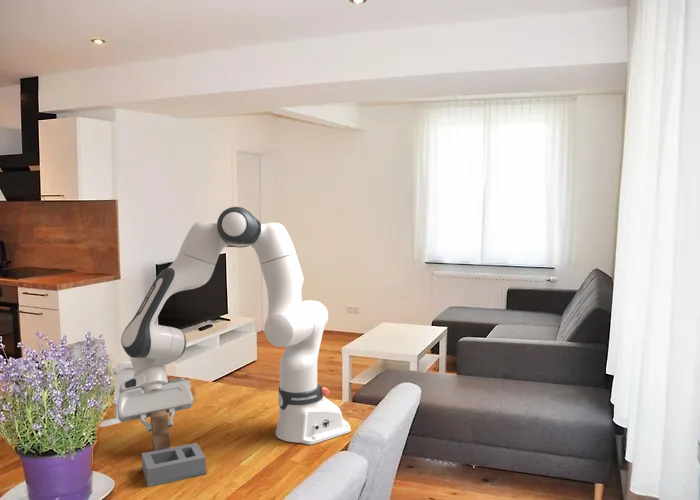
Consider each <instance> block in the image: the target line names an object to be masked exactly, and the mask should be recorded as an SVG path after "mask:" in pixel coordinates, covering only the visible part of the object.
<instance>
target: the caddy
mask: <svg viewBox="0 0 700 500" xmlns="http://www.w3.org/2000/svg"><path fill="white" fill-rule="evenodd" d="M206 461H207V457H206V455H205V454H204V452H203V451H202V448H201V447H200V445H199V443H198V442H194V443H187V444H183V445H178V446H177V445H176V446H171V447H170V448H167V449H161V450H156V451H154V450H152V451H147V452H142V453H141V468H142V469H141V470H142V473H143V475H144V479H145V481H146V485H147V487H148V488H149V487H154V486H158V485H164V484H167V483H172V482H173V483H174V482H177V481H181V480H187V479H191V478H195V477H199V476H205V475H207V463H206Z"/></svg>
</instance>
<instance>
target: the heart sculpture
mask: <svg viewBox="0 0 700 500" xmlns="http://www.w3.org/2000/svg"><path fill="white" fill-rule="evenodd" d="M112 371H113V373H114V375H115V377H116V379H117V385H116V393H115V396H114V401H113V403H112V404H114V417H112V418H107V419H103V420H102V421H103V422H101V424H100V425H101V426H100V425H99V426H100V428H104V427H105V428H106V427H108V426H112V425H116V424H120V423H122V422H121V421H119V419H118V398H119V395H120V393H119V389H120V385H121V384H122V383H123V382H125V381H127V380H129V379H131V378H133V377H134V368H133V366H132V362H131V361H128V360H127V361H120V362H118V363H117V364H115V365H112ZM99 426H98V427H99Z"/></svg>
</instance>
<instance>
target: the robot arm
mask: <svg viewBox="0 0 700 500" xmlns="http://www.w3.org/2000/svg"><path fill="white" fill-rule="evenodd" d="M249 246H251V248H253V249H254V251H255V254H256V256H257V258H258V262H259V265H260V269H261V272H262V275H263V278H264V283H265V287H266V290H267V301H268V307H267V308H268V309H267V310H268V311H267V317H266V320H265V322H264V327H263V328H264V335H265V337H266V339H267V341H268V342H269V343H270V344H271V345H273V346H274V347H278V348H284V351H283V353H282V355H281V358H280V361H279V386H278V394H277V395H278V396H277V397H278V399H277V400H278V406H279V412H278V414H279V415H278V419H277V424H276V425H277V426H276V429H275V433H274V434H275V436H276V438H277V439H280V440H282V441H284V442H288V443H301V444H304V445H314V444H317V443H321V442H324V441H326V440H327V441H328V440H330V439H333V438H336V437H339V436H342V435H346V434H349V433H350V432H351V430H352V429H351V425H350V423H349V422H348V421H347V420H345V419H344V418H343V414H342V411H341V409H340V407H339V406H338V405H336V404H335V403H334V402H333V401H331V400H330V399H328V398H327V397H325V396H329V394H330V390H329V389H328V388H327V387H326V386H323V385H320V384H319V383H318V361H319V354H320V348H321V343H322V340H323V339H322V338H323V334H324V331H325V328H326V326H327V324H328V322H329V312H328V308H327V307H326V306H325V305H324V304H323V303H321V302H320V301H318V300H310V299H307V300H303V298H302V289H303V288H302V287H303V284H304V280H305V279H304V278H305V277H304V275H303V270H302V268H301V265H300V262H299V258H298V255H297V251H296V249H295V246H294V243H293V241H292V239H291V237H290V235H289V233H288V231H287V229H286V227H285V226H284V225H283V224H282V223H280V222H274V221H273V222H266V223H261V221H260V220H259V219H257V217H256V216H254V214H252V213H251V212H250V211H249V210H248V209H246V208H244V207H242V206H230V207H228V208H226V209H224V210H223V211H222V212H221V213H220V215H219V216H218V218H217V222H211V221H205V220H203V221H196V222H195V223H194V224H193V225H192V226H191V227H190V229H189V231H188V233H187V234H186V236H185V238H184V240H183V242H182V243H181V246H180V248H179V252H178V253H177V256H176V258H175V260H174V261H173V262H172V263H171V264H170V265H169V266H168V267H167V268H164V269H163V270H161V271H160V272H159V274H158V275H157V277H156V278H155V279H154V281H153V282H152V284H151V286H150V288H149V290H148V292H147V294H146V295H145V297H144V299H143V301H142V302H141V304H140V306H139V308H138V309H137V311H136V313H135V315H134V316H133V318H132V319H131V321H130V322H129V323H128V324H127V326H126V327H125V329H124V330H123V332H122V335H121V339H120V343H121V346H122V348H123V349H122V350H124V352H125V353H126V355H127V356H128V357H130V360H131V361H130V362H132V366H133V368H134V377H133V378H131V379H129V380H127V381H125V382H123V383H122V384H121V385H120V389H119V393H120V395H119V398H118V419H119V421H121V423H126V422H131V421H135V420H140V423H141V424H143V426H144V427H145V429H146V432H147V433H149V432H152V431H153V427H152V423H151V422H148V421H147V418H149V417H150V413H151V412H156V411H161V410H165V411H166V413H167V414H168V415H169V416H170V417H169V418H168V427H169V428H172V427H174V421H173V419H174V417H175V413H176V412H178V411H182V410H183V411H184V410H188V409H191V408H192V406H193V404H194V400H193V396H192V393H191V391H190V389H191V387H192V386H191V382H190V380H189V379H187V378H184V377H179V378H173V379H168V375H167V370H166V365H169V364H172V363H173V362H175V361H177V360H178V359H179V358H180V357H182V356H183V355H184V354H185V351H186V348H187V338H186V336H185V333H184V331H182V330H181V329H179V328H176V327H173V326H168V325H167V326H166V325H160V324H157V323H156V324H155V322H156V320H157V318H158V317H159V315H160V312H161V311H162V309H163V307H164V305H165V303H166V302H167V300H168V299H169V298H170V297H171V296H172V295H174V294H176V293H180V292H183V291H189V290H194V289H197V288H201V287H202V286H204V285H206V283H208V282H209V281H210V279H211V278H212V276H213V273H214V272H215V271H214V270H215V267H216V265H217V262H218V259H219V257H220V254H221V252H222V251H223V250H224V249H225V248H247V247H249ZM150 418H151V417H150Z"/></svg>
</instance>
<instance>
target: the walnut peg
mask: <svg viewBox="0 0 700 500" xmlns="http://www.w3.org/2000/svg"><path fill="white" fill-rule="evenodd" d="M168 415H169V414H168V413H166V411H165V410H161V411H156V412H151V413H150V423H152V427H153V431H151V439H152V447H153V451H156V450H161V449H167V448H171V444H170V443H171V441H170V430H169V429H170V427H168V419H169V417H168Z"/></svg>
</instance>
